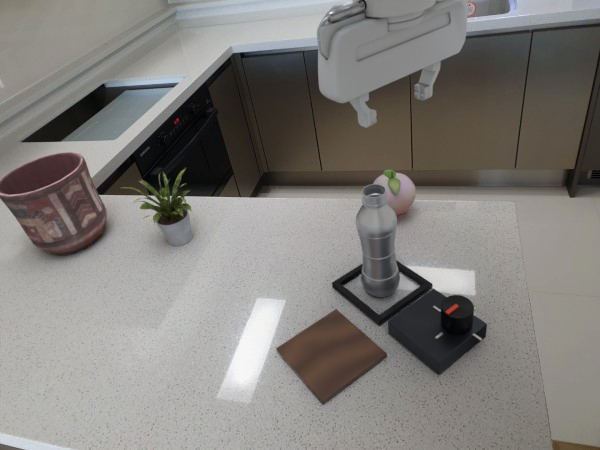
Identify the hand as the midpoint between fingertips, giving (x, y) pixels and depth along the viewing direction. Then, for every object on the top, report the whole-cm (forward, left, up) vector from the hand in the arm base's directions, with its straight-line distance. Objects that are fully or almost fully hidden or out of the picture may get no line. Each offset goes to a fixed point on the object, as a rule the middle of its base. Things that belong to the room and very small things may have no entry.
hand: (396, 111), depth 57 cm
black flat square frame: (+4, +1, -33) cm, 33 cm away
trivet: (-1, +16, -33) cm, 37 cm away
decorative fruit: (+18, -16, -33) cm, 41 cm away
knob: (-11, 0, -30) cm, 32 cm away
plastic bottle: (+4, +1, -33) cm, 33 cm away
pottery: (+64, +40, -33) cm, 83 cm away
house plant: (+45, +23, -33) cm, 61 cm away
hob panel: (-9, +2, -33) cm, 34 cm away
